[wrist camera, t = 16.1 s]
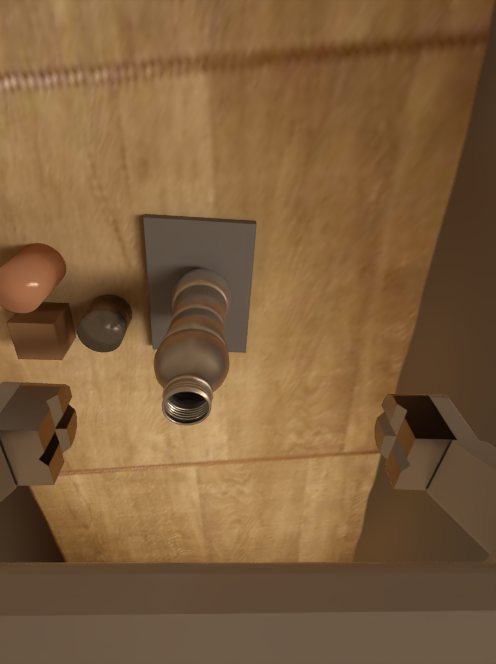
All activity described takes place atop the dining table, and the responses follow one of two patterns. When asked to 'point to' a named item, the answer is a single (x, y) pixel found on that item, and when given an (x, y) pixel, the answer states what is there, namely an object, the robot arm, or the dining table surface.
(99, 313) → the dark metal tin
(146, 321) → the dining table surface
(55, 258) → the terracotta jar
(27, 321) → the walnut block
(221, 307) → the plastic bottle
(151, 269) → the charcoal board
